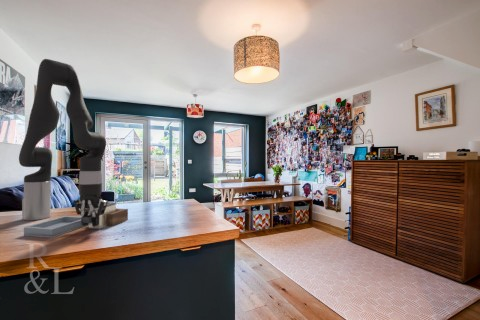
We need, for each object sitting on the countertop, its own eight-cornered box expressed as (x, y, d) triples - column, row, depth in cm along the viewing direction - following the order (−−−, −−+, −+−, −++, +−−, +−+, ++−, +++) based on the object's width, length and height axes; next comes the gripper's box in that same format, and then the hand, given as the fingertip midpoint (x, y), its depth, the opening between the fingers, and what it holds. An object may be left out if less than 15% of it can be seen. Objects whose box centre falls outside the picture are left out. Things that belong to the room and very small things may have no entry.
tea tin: (79, 231, 85) (79, 209, 85) (105, 221, 98) (105, 202, 98) (91, 232, 84) (91, 209, 84) (115, 222, 97) (115, 202, 97)
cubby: (91, 224, 93) (91, 212, 93) (108, 218, 103) (108, 207, 103) (112, 226, 92) (112, 214, 92) (127, 219, 101) (127, 209, 101)
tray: (23, 235, 80) (23, 227, 80) (65, 222, 95) (65, 215, 95) (51, 237, 78) (51, 229, 78) (89, 224, 93) (89, 217, 93)
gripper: (66, 182, 84) (66, 227, 84) (99, 184, 82) (98, 229, 82) (83, 180, 91) (83, 221, 91) (113, 181, 89) (113, 224, 89)
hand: (90, 225), depth 87 cm, fingers closed on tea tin, 3 cm apart
